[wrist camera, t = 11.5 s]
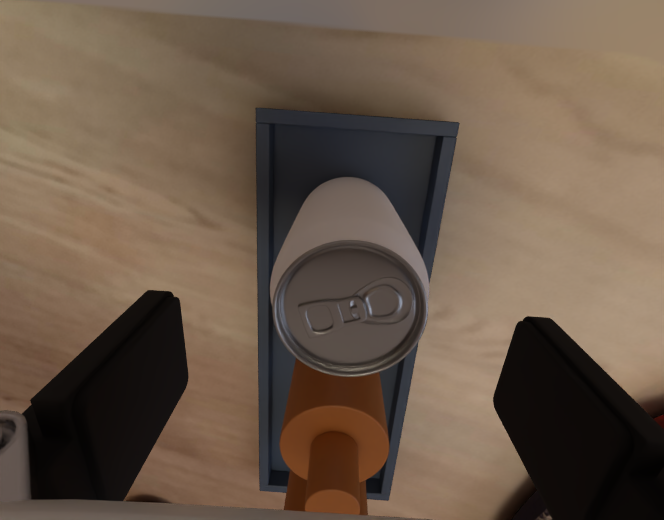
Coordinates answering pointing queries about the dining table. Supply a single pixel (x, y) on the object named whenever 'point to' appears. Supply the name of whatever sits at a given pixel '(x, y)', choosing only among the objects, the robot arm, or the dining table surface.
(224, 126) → the dining table surface
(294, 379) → the amber bottle
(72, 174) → the dining table surface
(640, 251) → the dining table surface
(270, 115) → the tray
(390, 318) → the can
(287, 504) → the amber bottle
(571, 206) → the dining table surface
